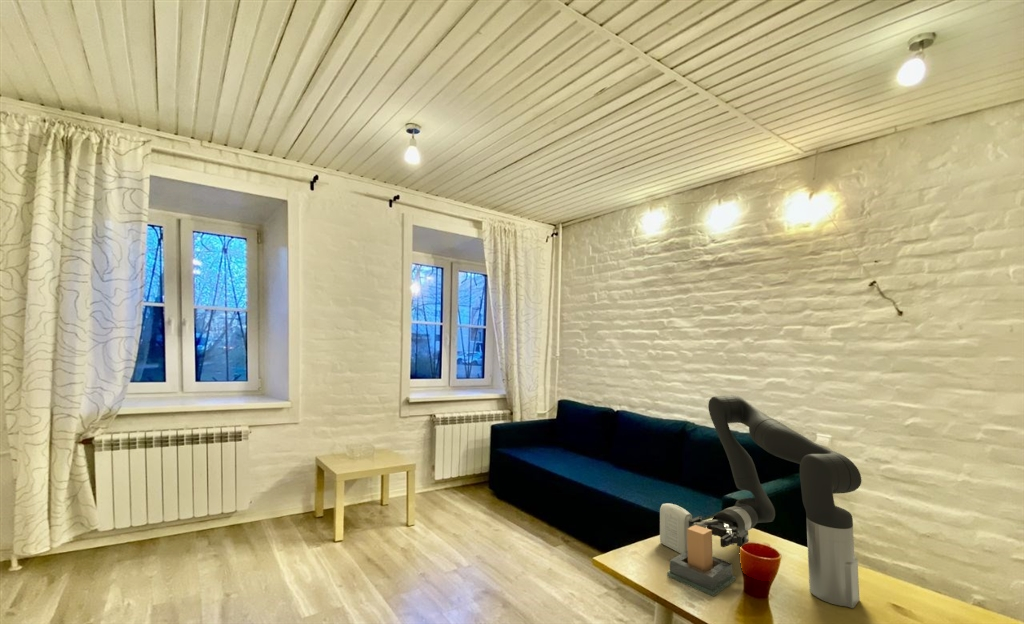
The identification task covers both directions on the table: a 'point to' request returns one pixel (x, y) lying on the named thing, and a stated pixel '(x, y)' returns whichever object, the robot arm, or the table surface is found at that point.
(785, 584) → the table surface
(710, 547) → the tall orange pillar
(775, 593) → the table surface
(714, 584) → the square frame holder
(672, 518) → the photo printer
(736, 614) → the table surface
